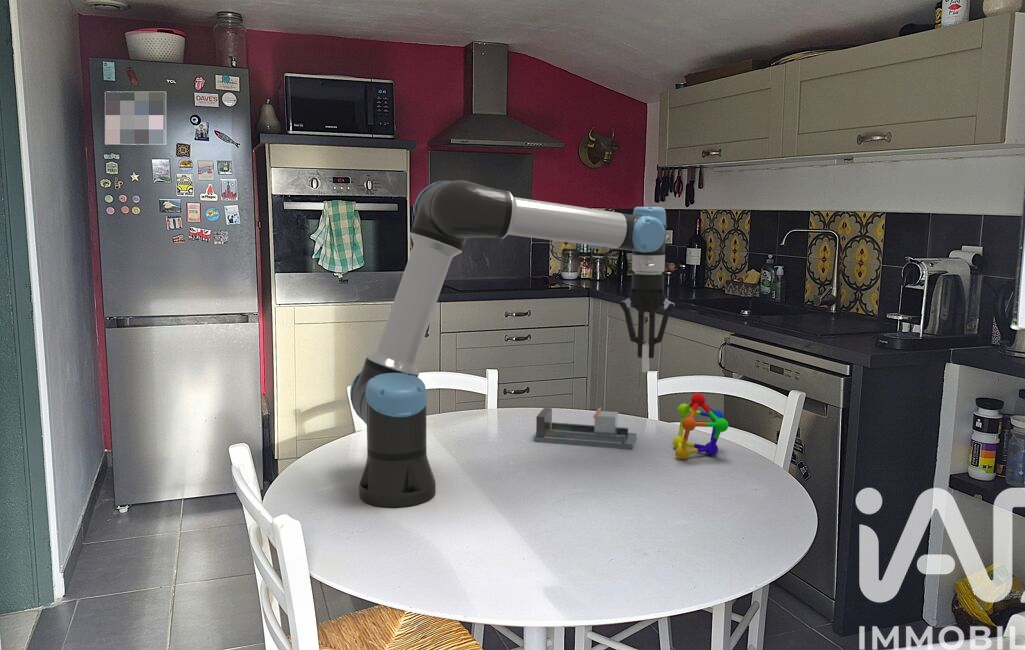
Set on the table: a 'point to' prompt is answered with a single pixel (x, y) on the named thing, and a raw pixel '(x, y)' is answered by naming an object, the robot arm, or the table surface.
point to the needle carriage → (606, 422)
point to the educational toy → (690, 425)
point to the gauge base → (579, 433)
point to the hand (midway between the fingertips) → (645, 371)
